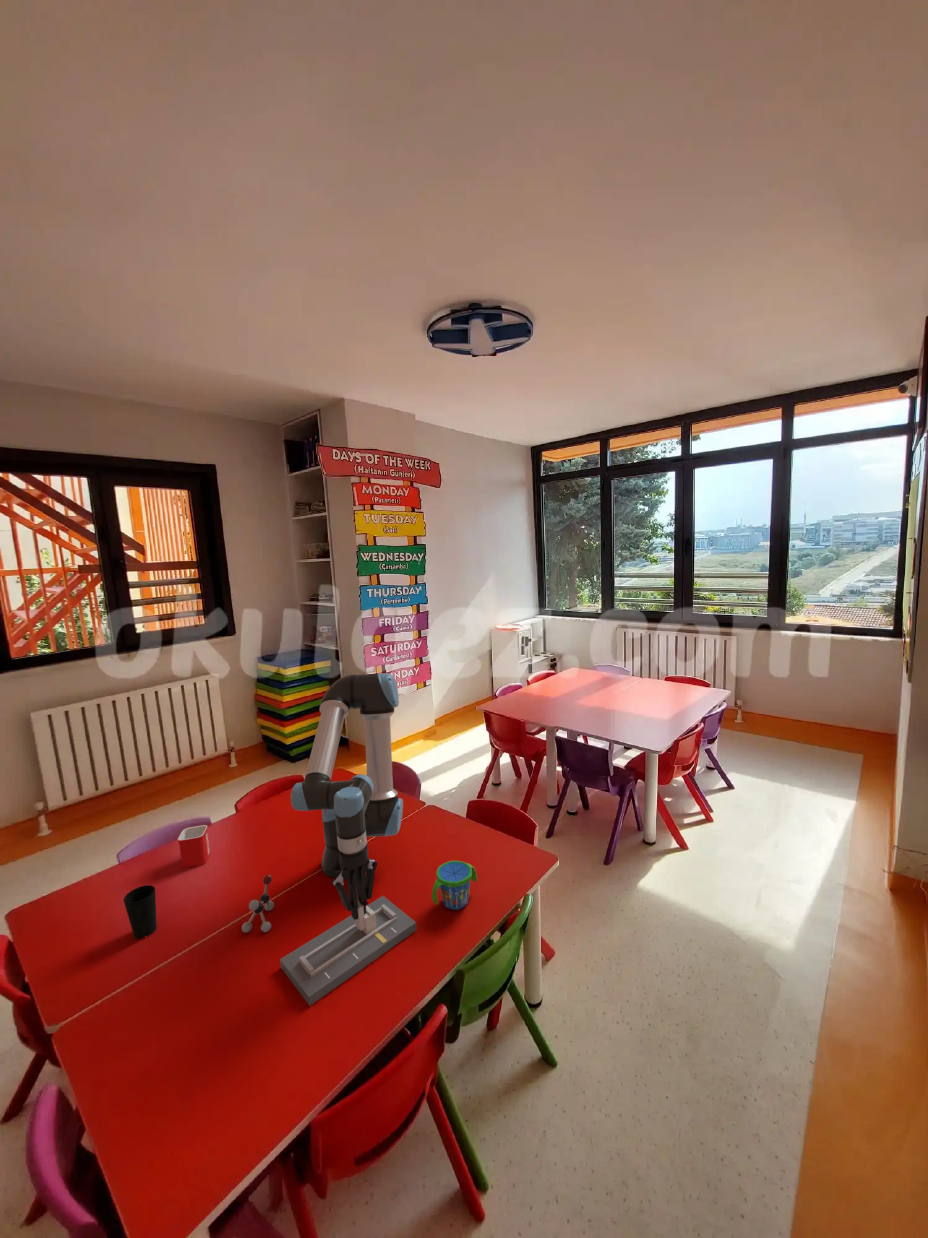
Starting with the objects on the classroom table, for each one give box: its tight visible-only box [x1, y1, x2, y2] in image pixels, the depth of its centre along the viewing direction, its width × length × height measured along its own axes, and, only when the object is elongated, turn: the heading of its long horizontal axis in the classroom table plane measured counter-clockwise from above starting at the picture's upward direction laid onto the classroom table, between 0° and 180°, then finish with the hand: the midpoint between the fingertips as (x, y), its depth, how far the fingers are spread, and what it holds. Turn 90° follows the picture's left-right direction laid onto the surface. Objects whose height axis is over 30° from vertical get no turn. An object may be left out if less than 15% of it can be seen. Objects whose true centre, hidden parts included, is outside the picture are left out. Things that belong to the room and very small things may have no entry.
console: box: [279, 895, 418, 1007], centre depth 134 cm, size 16×32×4 cm, turn 134°
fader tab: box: [362, 906, 377, 935], centre depth 137 cm, size 4×3×5 cm
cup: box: [123, 884, 158, 939], centre depth 144 cm, size 8×8×12 cm
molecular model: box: [241, 874, 275, 934], centre depth 146 cm, size 8×12×11 cm
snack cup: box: [431, 860, 478, 911], centre depth 149 cm, size 16×10×10 cm
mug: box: [177, 824, 211, 869], centre depth 179 cm, size 12×8×11 cm
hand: (360, 926), depth 136 cm, fingers closed
